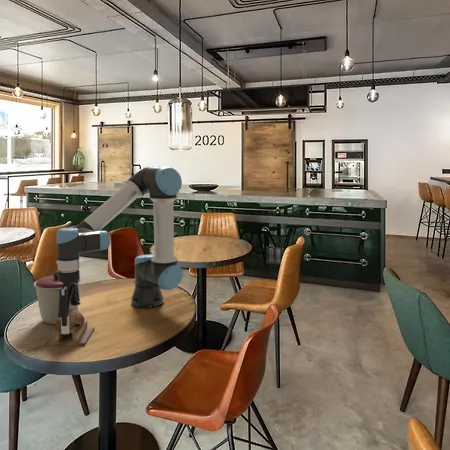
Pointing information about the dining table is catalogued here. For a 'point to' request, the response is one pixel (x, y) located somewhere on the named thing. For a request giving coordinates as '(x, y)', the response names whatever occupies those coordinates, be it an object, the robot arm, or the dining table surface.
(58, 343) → the display stand
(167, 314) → the dining table surface
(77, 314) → the bread roll
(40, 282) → the canister
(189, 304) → the dining table surface
